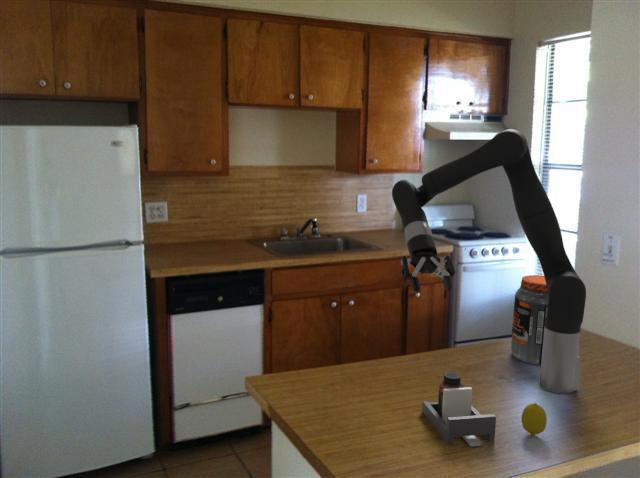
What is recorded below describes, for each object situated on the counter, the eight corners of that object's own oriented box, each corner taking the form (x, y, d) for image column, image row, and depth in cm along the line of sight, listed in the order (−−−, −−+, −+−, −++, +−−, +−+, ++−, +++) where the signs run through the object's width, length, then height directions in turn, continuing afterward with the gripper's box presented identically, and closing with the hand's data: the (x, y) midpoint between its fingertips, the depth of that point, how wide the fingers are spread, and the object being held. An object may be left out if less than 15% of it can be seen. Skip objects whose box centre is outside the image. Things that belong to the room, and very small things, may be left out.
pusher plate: (468, 421, 141) (470, 387, 139) (489, 444, 130) (492, 407, 129) (441, 423, 140) (443, 388, 138) (460, 447, 129) (463, 409, 127)
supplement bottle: (462, 425, 140) (465, 381, 138) (437, 422, 141) (439, 378, 139) (461, 414, 145) (464, 371, 144) (437, 411, 147) (440, 369, 145)
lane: (463, 409, 148) (465, 387, 147) (494, 440, 133) (496, 416, 132) (422, 412, 146) (423, 390, 145) (447, 444, 131) (449, 420, 130)
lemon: (544, 432, 137) (547, 400, 136) (545, 443, 132) (548, 410, 131) (520, 427, 139) (522, 396, 138) (520, 438, 134) (522, 406, 133)
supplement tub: (506, 347, 195) (512, 272, 190) (554, 350, 193) (562, 275, 188) (515, 364, 179) (521, 283, 175) (568, 368, 177) (576, 286, 173)
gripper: (399, 233, 157) (411, 284, 148) (448, 232, 160) (463, 283, 151) (392, 248, 163) (403, 299, 154) (439, 248, 166) (453, 297, 157)
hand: (433, 291), depth 153 cm, fingers open, 8 cm apart
